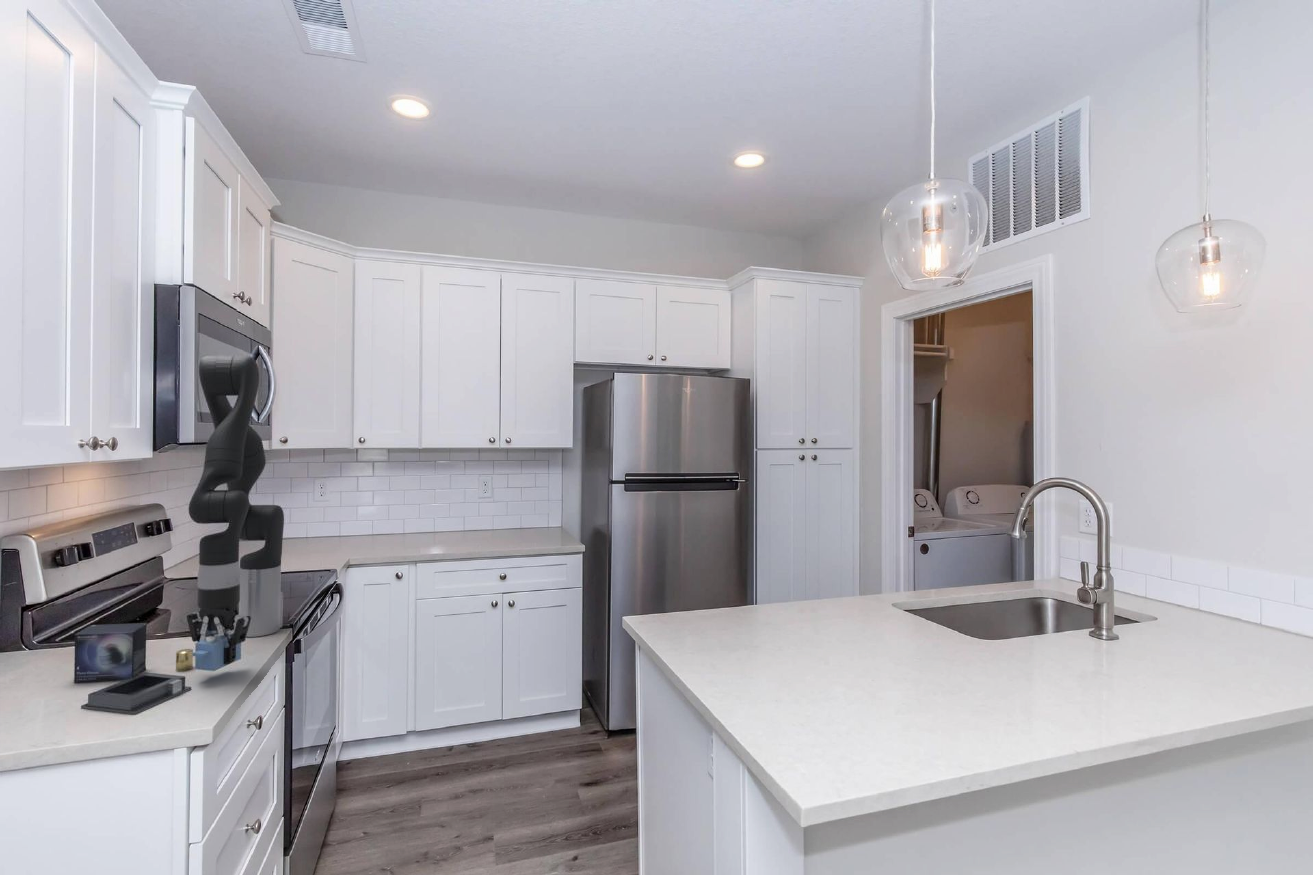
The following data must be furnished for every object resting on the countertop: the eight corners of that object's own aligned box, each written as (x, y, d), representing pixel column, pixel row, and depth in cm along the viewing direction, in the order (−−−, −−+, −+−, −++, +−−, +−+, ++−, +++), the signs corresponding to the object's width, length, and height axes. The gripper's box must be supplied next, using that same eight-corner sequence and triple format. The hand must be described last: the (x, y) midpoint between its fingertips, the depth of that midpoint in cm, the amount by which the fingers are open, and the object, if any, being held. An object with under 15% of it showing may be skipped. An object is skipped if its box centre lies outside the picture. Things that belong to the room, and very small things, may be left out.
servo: (229, 654, 144) (229, 625, 144) (246, 655, 143) (247, 627, 143) (188, 672, 134) (188, 641, 133) (207, 674, 133) (207, 643, 133)
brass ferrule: (184, 666, 144) (184, 648, 144) (196, 667, 144) (196, 649, 144) (172, 670, 141) (172, 652, 141) (184, 672, 141) (184, 653, 141)
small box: (71, 684, 133) (72, 633, 133) (89, 672, 139) (90, 624, 139) (131, 680, 136) (132, 630, 136) (147, 669, 142) (148, 621, 142)
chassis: (141, 684, 134) (141, 671, 134) (191, 689, 132) (191, 676, 132) (80, 708, 122) (81, 694, 122) (134, 714, 120) (135, 700, 120)
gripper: (262, 581, 140) (261, 658, 141) (205, 576, 143) (204, 653, 143) (234, 590, 133) (233, 672, 133) (174, 585, 135) (173, 665, 136)
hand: (218, 661), depth 138 cm, fingers closed on servo, 4 cm apart
